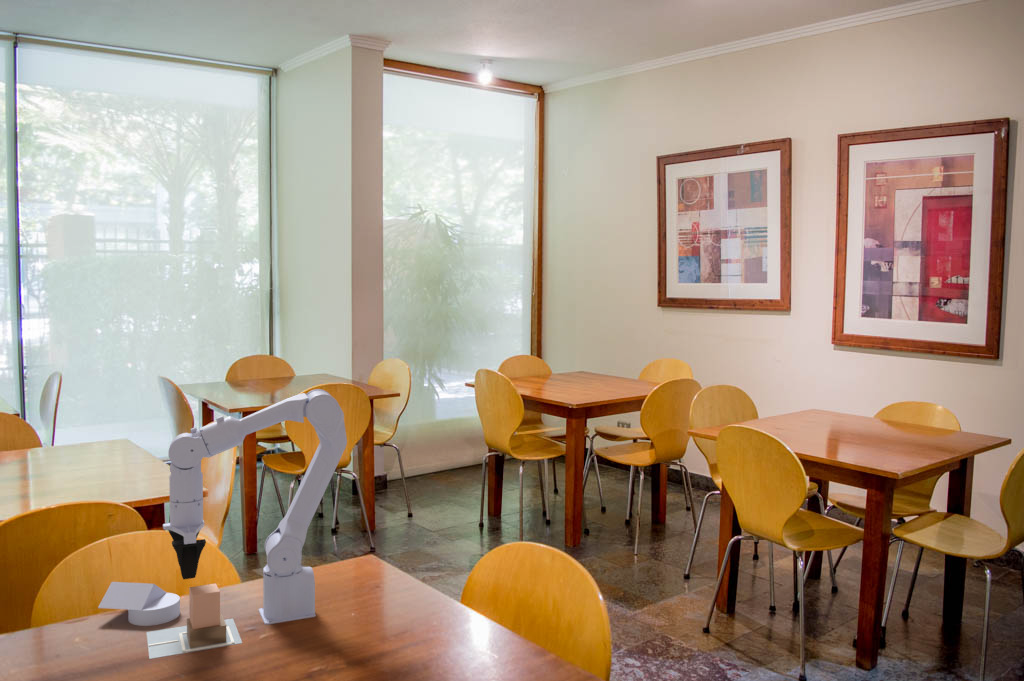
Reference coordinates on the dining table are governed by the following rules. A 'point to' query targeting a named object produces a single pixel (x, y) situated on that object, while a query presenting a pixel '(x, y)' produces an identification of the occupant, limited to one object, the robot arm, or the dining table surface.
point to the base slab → (206, 634)
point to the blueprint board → (184, 640)
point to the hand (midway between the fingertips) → (187, 571)
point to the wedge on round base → (142, 602)
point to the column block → (204, 606)
